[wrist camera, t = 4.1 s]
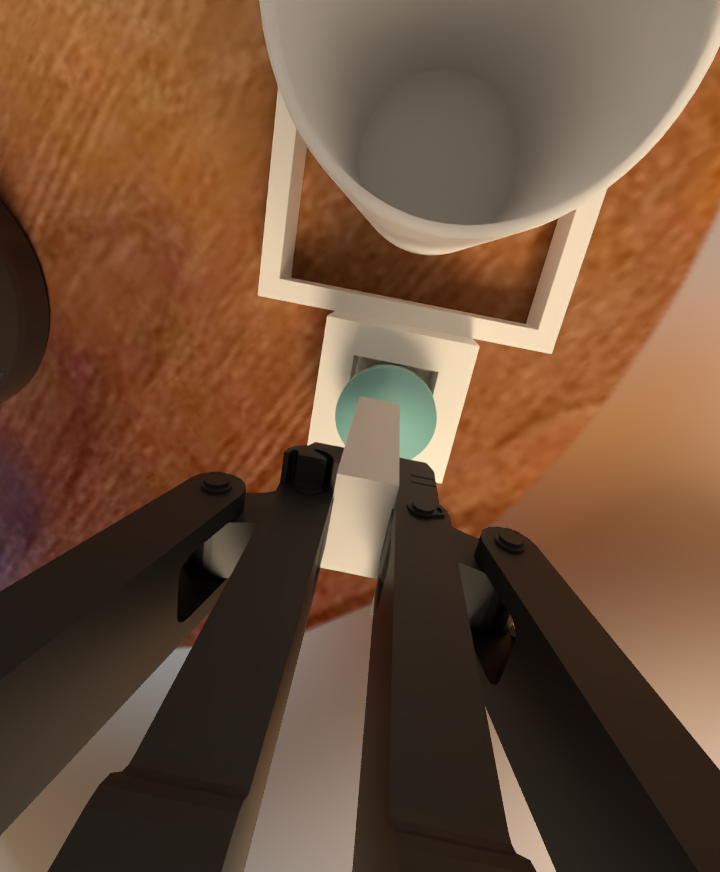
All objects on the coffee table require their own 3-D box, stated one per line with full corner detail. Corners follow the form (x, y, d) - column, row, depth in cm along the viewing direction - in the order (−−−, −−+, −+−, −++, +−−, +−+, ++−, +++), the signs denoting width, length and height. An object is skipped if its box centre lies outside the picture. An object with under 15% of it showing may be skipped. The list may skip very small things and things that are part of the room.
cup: (404, 286, 25) (400, 317, 10) (322, 136, 23) (160, -112, 8) (550, 195, 23) (826, 61, 8) (474, 21, 21) (652, -619, 6)
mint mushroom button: (341, 420, 25) (327, 454, 21) (356, 341, 24) (344, 358, 19) (420, 436, 25) (423, 474, 21) (440, 358, 24) (448, 380, 19)
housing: (258, 410, 28) (229, 439, 23) (309, -58, 20) (279, -156, 16) (501, 460, 28) (520, 499, 23) (648, 2, 20) (723, -79, 15)
